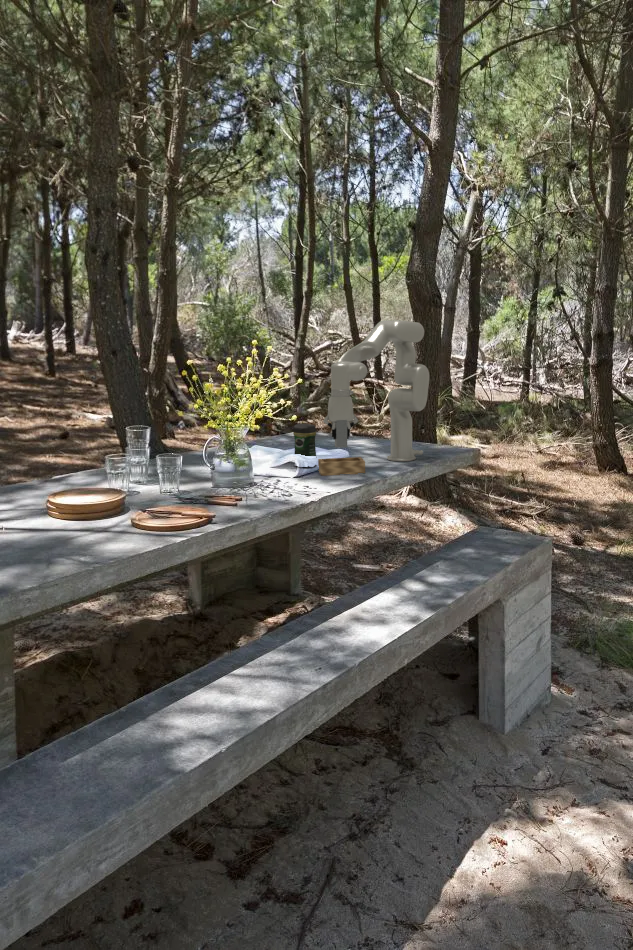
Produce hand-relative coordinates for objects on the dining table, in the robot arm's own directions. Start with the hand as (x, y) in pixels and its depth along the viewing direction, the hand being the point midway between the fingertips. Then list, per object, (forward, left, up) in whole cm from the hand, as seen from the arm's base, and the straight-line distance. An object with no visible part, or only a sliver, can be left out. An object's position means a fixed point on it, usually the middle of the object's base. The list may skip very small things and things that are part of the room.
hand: (340, 438), depth 332 cm
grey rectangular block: (0, 0, -3) cm, 3 cm away
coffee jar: (+13, -17, -15) cm, 26 cm away
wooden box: (0, 0, -14) cm, 14 cm away
